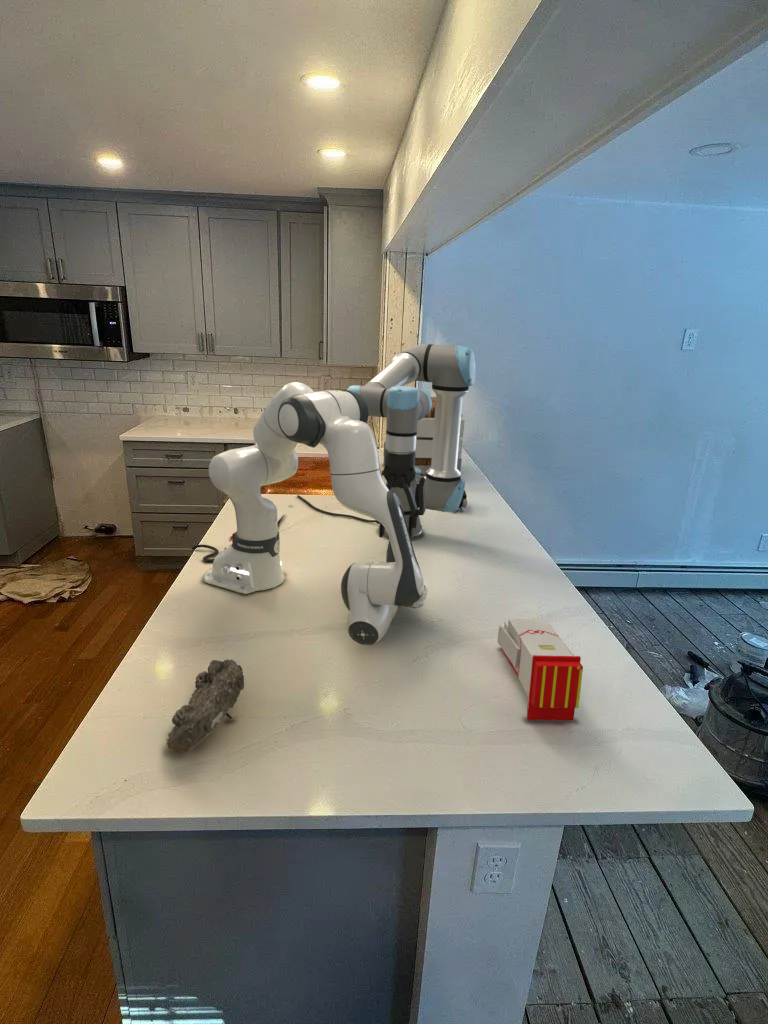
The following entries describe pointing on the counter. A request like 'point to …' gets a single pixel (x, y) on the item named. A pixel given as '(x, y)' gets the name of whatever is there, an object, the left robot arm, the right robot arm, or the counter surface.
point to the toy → (542, 668)
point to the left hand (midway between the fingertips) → (394, 577)
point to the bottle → (390, 554)
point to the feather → (280, 520)
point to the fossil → (206, 705)
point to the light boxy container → (429, 439)
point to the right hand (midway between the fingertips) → (395, 537)
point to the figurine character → (463, 501)
